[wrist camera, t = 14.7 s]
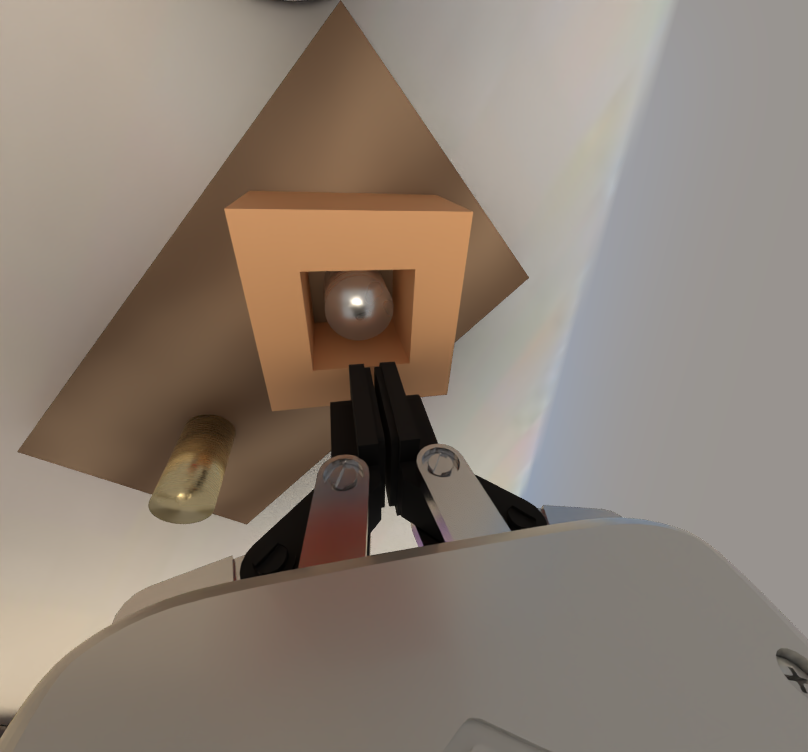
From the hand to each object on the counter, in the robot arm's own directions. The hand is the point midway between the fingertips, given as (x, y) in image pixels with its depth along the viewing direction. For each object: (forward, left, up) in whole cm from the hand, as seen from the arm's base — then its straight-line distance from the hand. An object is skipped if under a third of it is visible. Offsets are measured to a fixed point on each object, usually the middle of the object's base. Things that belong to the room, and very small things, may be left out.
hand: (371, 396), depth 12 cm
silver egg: (-2, +2, -5) cm, 5 cm away
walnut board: (-2, -4, -6) cm, 8 cm away
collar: (-2, +2, -5) cm, 5 cm away
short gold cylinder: (-2, -9, -5) cm, 11 cm away
